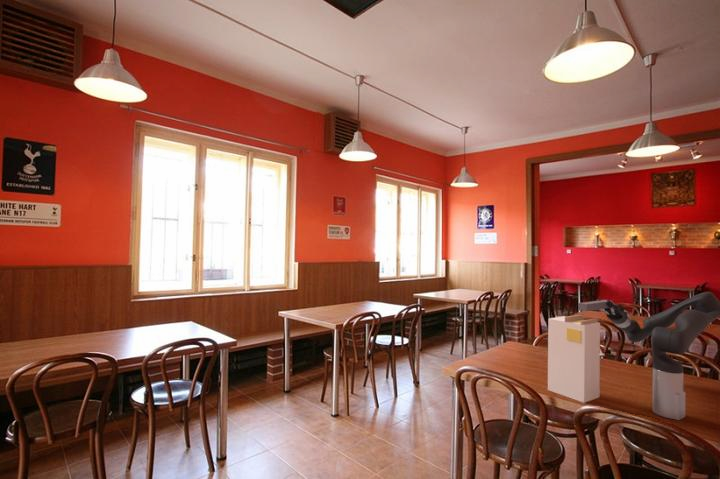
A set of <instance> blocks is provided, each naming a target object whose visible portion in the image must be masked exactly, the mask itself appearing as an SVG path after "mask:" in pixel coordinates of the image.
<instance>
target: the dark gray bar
mask: <svg viewBox="0 0 720 479" xmlns="http://www.w3.org/2000/svg"><path fill="white" fill-rule="evenodd" d="M607 300H608V299H600V301H597V300H594V301H593V300H592V301H585V302H578V311H581V312H582V311H583V312H589V311H597V310H599V309H605V308H610V307H609V306H608V305H607V304H606V302H607ZM610 301H611V302H612V303H614V300H610ZM599 311H600V310H599Z"/></svg>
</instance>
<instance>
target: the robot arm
mask: <svg viewBox="0 0 720 479" xmlns="http://www.w3.org/2000/svg"><path fill="white" fill-rule="evenodd" d="M600 300H601V299H600V298H597V299H596V301H600ZM606 300H607V302H606V304H607V305H608V306H609V307H610V308H605V309H599V310H596V312H600V311H602V312H603V313H605V316H606V317H607V319H608V320H609V321H610V322H611V323H612V324H614V325H615V326H616V327H617V328H618V329H620V330H621V331H623V332H625V335H626V337H627V339H628V340H629V342H631V343H640V342H642V341H644V340H645V339H648V337H649V336H651V337H650V338H651V340H650V341H651V342H650V343H651V361H652V406H651V407H652V412H653V413H654V414H655V415H658V416H660V417H663V418H668V419H673V420H676V421H680V420H682V419H684V418H686V391H684V366H683V364H682V363H681V362H679V361H677V360H676V359H673V358H672V357H670V356H669V355H668V354H667V353H669V354H674V355H683V354H685V353H686V352H687V351H689V348H690V347H691V345H692V344H693V342H694V341H695V340H696V338H698V337H699V335H700V334H701V333H703V332H704V331H705V330H706V329H707V327H708V326H709V325H710V324H711V323H713V322H714V321H715V320H717V319H718V318H720V300H719V299H718V298H717V297H716V296H715V294H713V292H711V291H705V292H700V293H697V294H695V295H694V296H690V297H689V298H687V299H685V300H683V301H681V302H678V303H677V304H674V305H673V306H671V307H670V308H667V309H666V310H663V311H662V312H659V313H655V314H654V315H651V316H648V317H645V318H644V319H643V320H642V324H643V327H642V328H641V326H640V324H639V322H638V321H637V320H635V319H633V318H631V316H630V315H629V314H628V312H629V309H627V308H625V307H624V306H622V305H620V304H615V303H614V302H613V303H612V302H611V301H612V300H610V299H606ZM689 307H693V309H688V308H689ZM686 309H687V310H686ZM673 324H674V326H675V328H676V329H675V328H669V327H671V326H672V325H673Z"/></svg>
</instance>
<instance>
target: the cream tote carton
mask: <svg viewBox="0 0 720 479" xmlns="http://www.w3.org/2000/svg"><path fill="white" fill-rule="evenodd" d="M598 319H599V318H591V319H584V316H583V314H575V315H569V316H565V315H562V316H556V317H549V318H548V323H547V324H548V326H547V327H548V328H547V331H548V332H547V335H548V336H547V391H550V392H552V393H556V394H558V395H561V396H564V397H567V398H568V399H569V398H570V399H573V400H575V401H578V402H580V403H583V404H585V403H587V402H590V401H593V400H595V399H598V398H600V385H601V384H600V383H601V382H600V378H601V377H600V376H601V375H600V373H601V371H600V366H601V362H600V361H601V359H600V358H601V357H600V353H601V352H600V351H601V322H599V320H598Z"/></svg>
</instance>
